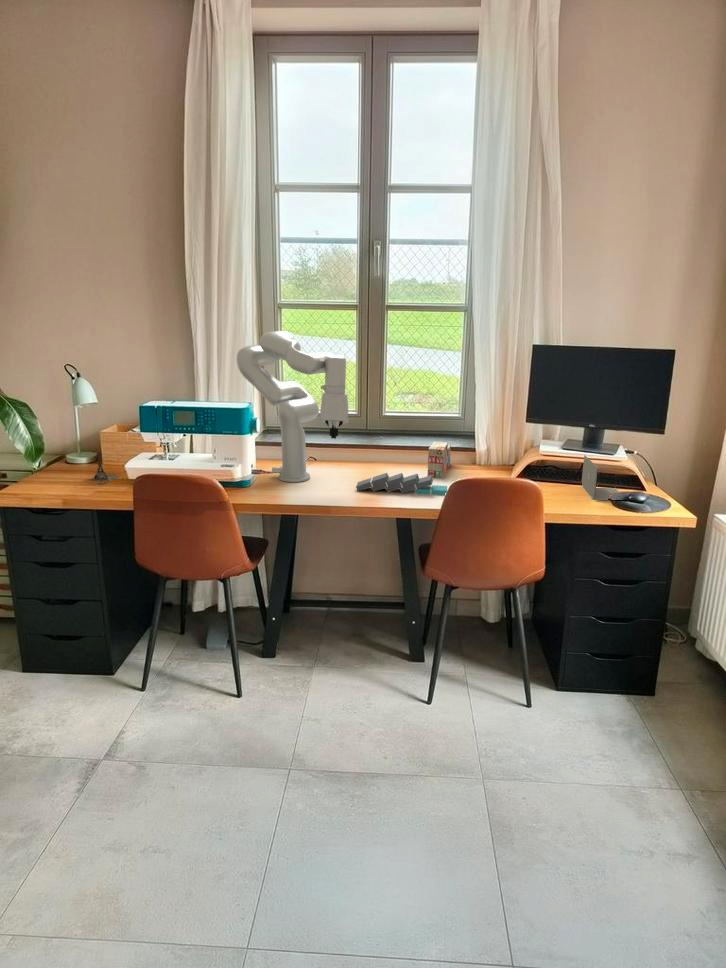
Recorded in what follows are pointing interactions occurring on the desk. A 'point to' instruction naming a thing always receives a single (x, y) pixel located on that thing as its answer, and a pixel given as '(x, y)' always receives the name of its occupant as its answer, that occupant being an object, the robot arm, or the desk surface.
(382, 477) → the domino
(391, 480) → the domino
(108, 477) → the eiffel tower figurine
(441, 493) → the teal domino
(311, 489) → the desk surface
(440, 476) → the stack of blocks
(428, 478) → the domino
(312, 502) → the desk surface
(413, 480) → the domino
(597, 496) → the laptop
